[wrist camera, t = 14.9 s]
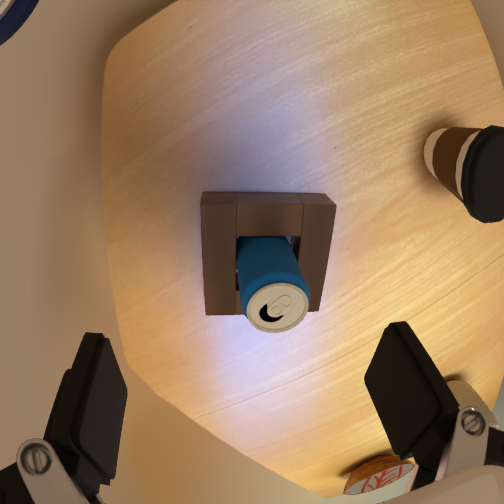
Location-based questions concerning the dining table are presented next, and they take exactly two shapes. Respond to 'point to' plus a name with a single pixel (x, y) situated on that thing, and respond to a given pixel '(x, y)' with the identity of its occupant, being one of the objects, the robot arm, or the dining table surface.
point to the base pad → (262, 224)
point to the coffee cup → (470, 167)
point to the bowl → (377, 474)
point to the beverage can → (271, 283)
